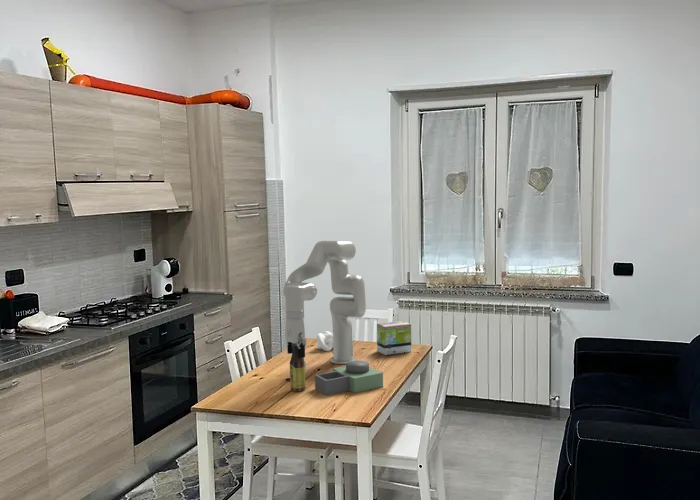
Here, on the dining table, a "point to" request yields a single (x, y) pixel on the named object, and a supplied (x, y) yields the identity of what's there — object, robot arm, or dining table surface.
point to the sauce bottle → (297, 371)
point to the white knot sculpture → (325, 341)
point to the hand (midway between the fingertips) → (296, 355)
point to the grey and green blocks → (349, 378)
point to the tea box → (393, 337)
